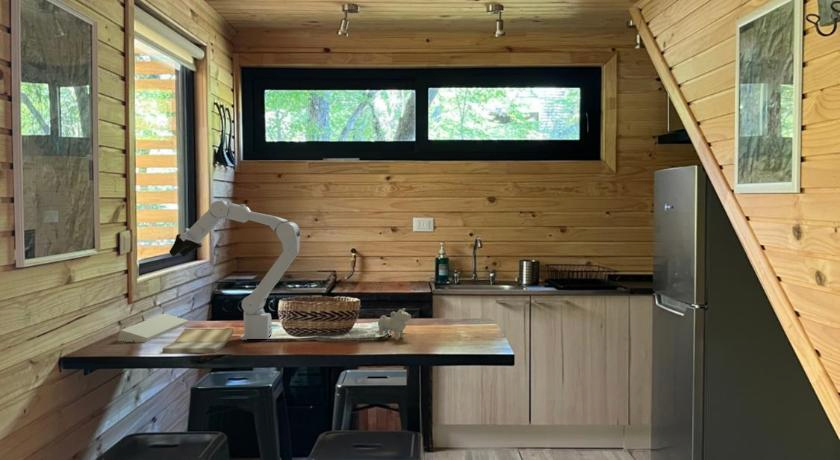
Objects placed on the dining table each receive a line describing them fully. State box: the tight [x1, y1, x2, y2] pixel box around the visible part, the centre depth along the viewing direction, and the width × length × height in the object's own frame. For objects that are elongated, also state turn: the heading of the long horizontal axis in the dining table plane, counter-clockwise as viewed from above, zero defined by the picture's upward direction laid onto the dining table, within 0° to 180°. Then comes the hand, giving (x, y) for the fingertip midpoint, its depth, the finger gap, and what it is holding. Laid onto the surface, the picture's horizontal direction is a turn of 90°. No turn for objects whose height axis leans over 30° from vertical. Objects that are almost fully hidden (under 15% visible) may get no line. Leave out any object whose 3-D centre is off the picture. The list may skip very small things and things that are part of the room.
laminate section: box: [162, 341, 226, 354], centre depth 224 cm, size 17×10×2 cm, turn 89°
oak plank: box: [174, 328, 234, 346], centre depth 234 cm, size 17×10×2 cm, turn 89°
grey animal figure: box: [377, 307, 412, 341], centre depth 241 cm, size 5×13×11 cm, turn 60°
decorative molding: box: [117, 313, 189, 343], centre depth 253 cm, size 34×5×10 cm
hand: (176, 254), depth 242 cm, fingers open, 7 cm apart
